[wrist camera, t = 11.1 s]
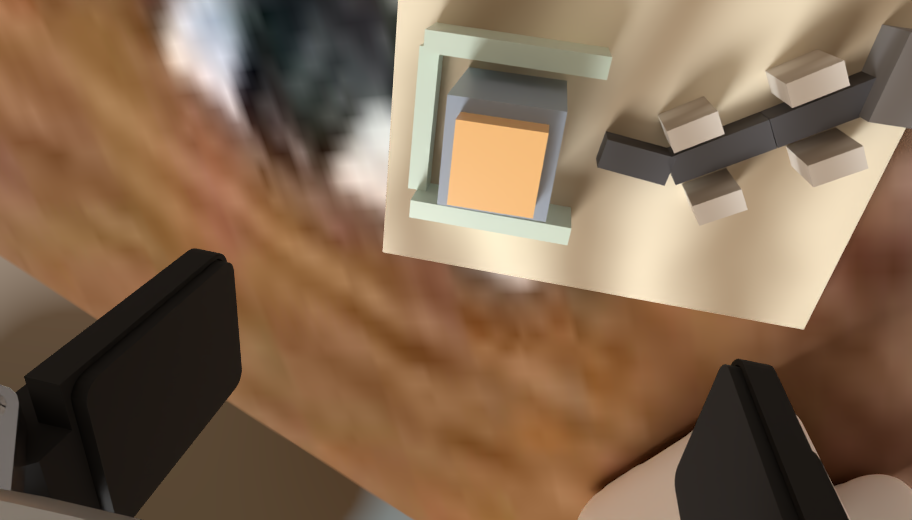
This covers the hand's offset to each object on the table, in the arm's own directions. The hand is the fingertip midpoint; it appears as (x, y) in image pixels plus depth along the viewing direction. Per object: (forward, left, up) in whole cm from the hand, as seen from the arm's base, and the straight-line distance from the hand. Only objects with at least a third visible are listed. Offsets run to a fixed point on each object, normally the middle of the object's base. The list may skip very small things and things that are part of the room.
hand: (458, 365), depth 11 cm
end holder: (+1, 0, -16) cm, 16 cm away
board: (-5, 0, -17) cm, 17 cm away
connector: (0, 0, -16) cm, 16 cm away
